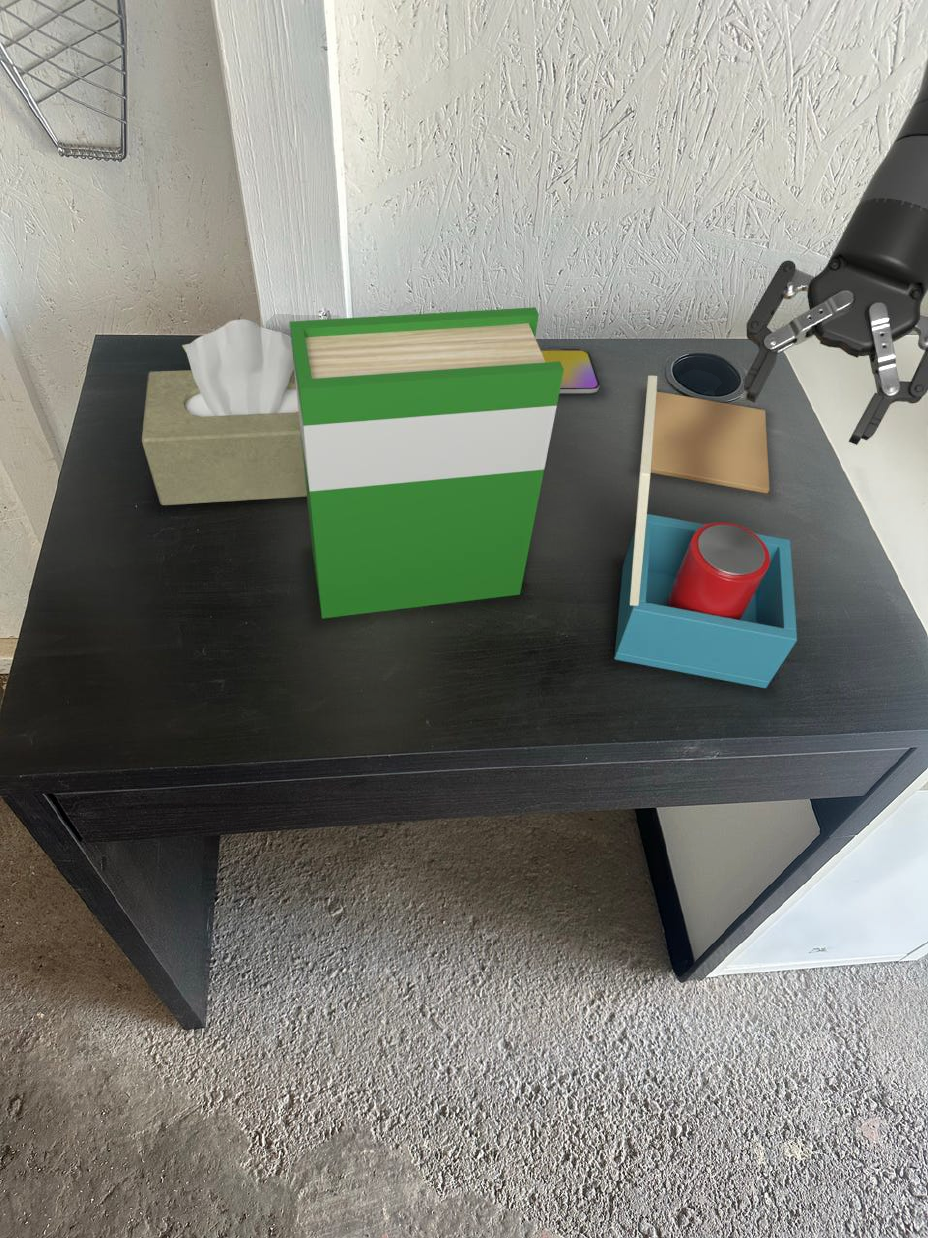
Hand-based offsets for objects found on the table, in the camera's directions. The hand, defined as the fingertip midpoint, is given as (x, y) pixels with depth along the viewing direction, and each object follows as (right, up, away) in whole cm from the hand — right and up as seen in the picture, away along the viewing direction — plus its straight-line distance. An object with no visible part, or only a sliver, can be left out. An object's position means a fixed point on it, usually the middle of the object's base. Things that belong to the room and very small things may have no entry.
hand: (801, 420), depth 67 cm
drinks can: (-7, -16, +7) cm, 19 cm away
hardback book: (-31, -12, +10) cm, 35 cm away
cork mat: (-1, +3, +24) cm, 24 cm away
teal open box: (-6, -16, +9) cm, 19 cm away
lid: (-13, -6, -2) cm, 14 cm away
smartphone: (-19, +12, +29) cm, 37 cm away
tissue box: (-47, -1, +17) cm, 50 cm away
